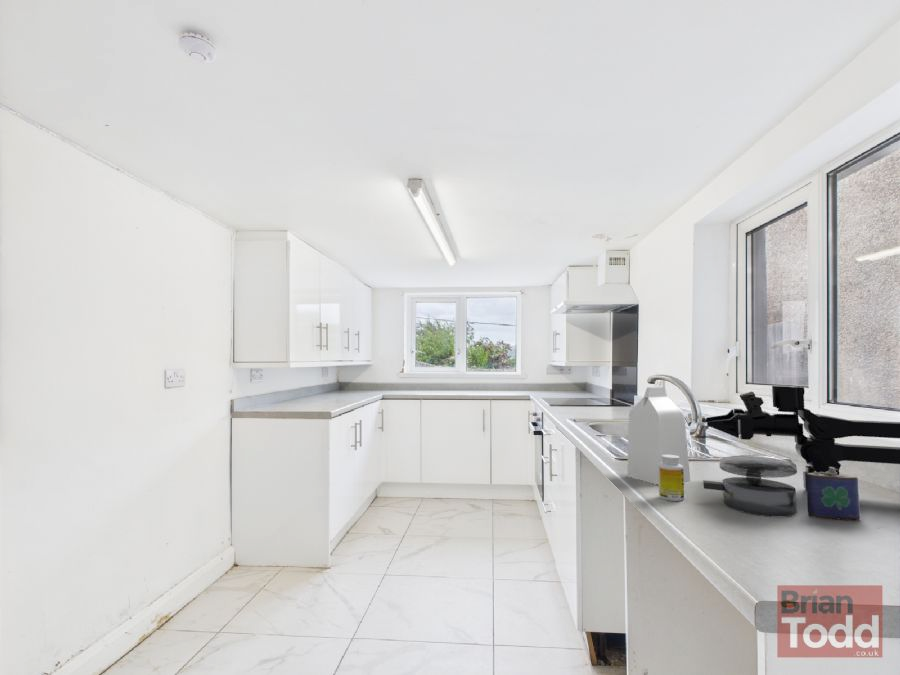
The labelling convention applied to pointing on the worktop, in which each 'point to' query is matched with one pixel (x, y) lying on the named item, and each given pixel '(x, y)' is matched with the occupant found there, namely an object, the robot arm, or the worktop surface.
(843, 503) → the flask
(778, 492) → the cooker pot
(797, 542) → the worktop surface
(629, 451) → the milk
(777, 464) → the cooker lid
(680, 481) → the supplement bottle
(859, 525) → the worktop surface
